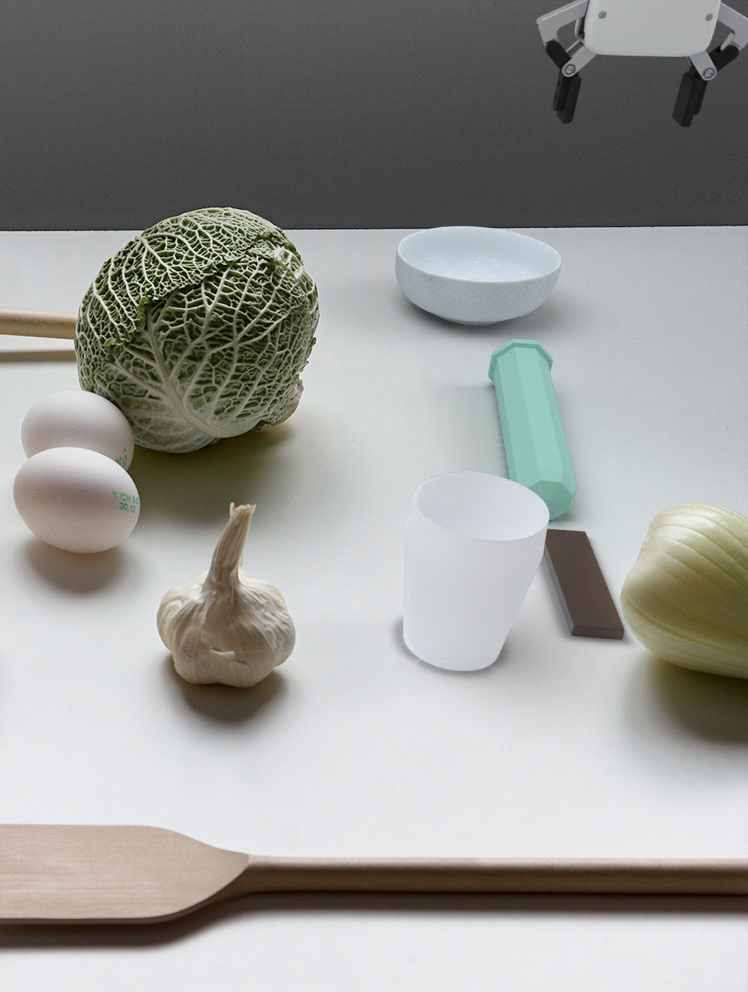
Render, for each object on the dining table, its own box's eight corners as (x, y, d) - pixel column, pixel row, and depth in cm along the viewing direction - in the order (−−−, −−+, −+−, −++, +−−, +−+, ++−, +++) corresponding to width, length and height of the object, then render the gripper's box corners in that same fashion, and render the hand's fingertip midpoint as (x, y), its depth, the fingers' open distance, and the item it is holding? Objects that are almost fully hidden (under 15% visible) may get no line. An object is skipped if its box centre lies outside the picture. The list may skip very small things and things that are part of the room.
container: (578, 465, 103) (545, 330, 123) (500, 481, 105) (480, 346, 125) (592, 525, 105) (558, 383, 125) (516, 540, 107) (494, 398, 128)
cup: (401, 594, 99) (427, 459, 92) (525, 627, 95) (561, 488, 89) (372, 662, 92) (397, 521, 85) (504, 700, 88) (541, 555, 82)
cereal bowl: (481, 273, 152) (493, 215, 148) (582, 329, 138) (597, 267, 135) (357, 295, 147) (366, 236, 143) (449, 355, 133) (462, 291, 130)
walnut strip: (582, 543, 104) (585, 530, 104) (621, 643, 93) (625, 630, 93) (536, 539, 105) (540, 527, 104) (570, 639, 94) (574, 625, 93)
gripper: (773, -99, 105) (714, 112, 115) (551, -101, 108) (510, 106, 117) (807, -85, 99) (741, 137, 108) (570, -87, 102) (525, 130, 111)
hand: (621, 121), depth 113 cm, fingers open, 9 cm apart
